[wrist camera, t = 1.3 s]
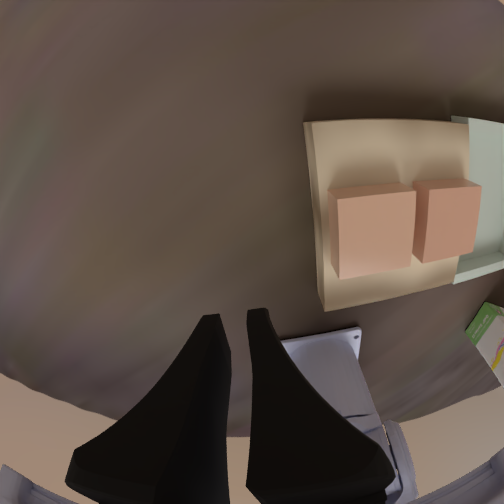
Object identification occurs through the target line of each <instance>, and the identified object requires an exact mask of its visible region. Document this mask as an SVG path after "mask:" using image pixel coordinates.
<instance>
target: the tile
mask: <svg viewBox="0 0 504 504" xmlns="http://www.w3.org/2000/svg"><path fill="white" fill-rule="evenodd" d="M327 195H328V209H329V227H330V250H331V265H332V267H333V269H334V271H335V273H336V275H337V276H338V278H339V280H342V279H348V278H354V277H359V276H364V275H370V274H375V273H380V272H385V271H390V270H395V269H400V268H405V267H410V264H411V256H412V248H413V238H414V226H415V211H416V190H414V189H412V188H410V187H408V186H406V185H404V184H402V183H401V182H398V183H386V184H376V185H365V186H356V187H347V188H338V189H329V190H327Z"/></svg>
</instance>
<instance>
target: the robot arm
mask: <svg viewBox="0 0 504 504" xmlns="http://www.w3.org/2000/svg"><path fill="white" fill-rule="evenodd" d="M247 331H248V339H249V347H250V354H251V362H252V373H253V383H252V417H251V434H250V449H249V460H248V470H247V480H246V487H247V488H248V489H249V491H250V492H251V493H252V494H253V495H254V496H255V497H256V499H257V500H258V501H259V502H260V503H261V504H504V448H503V449H501V450H500V451H499V452H498V453H496V454H495V455H494V456H493V457H491V459H490V460H489V461H487V462H485V463H484V464H482V465H481V466H479V467H478V468H476V469H475V470H473V471H471V472H469V473H468V474H466V475H464V476H463V477H461V478H459V479H457V480H455V481H453V482H452V483H450V484H448V485H446V486H444V487H442V488H440V489H438V490H436V491H434V492H432V493H429V494H427V495H425V496H423V497H421V498H418V499H416V498H417V497H418V491H417V486H416V482H415V478H416V475H415V470H414V466H413V462H412V458H411V455H410V452H409V449H408V446H407V443H406V440H405V438H404V435H403V432H402V430H401V427H400V425H399V424H398V423H397V422H394V421H391V420H390V419H389V420H386V421H384V426H385V429H386V435H387V438H388V441H389V444H390V445H388V442H387V439H386V436H385V433H384V429H383V427H382V424H381V421H380V418H379V415H378V413H377V412H376V410H375V407H374V404H373V401H372V398H371V395H370V392H369V390H368V387H367V384H366V381H365V379H364V376H363V373H362V371H361V368H360V365H359V363H358V355H359V349H360V341H361V334H362V330H361V328H360V327H354V328H349V329H344V330H339V331H334V332H329V333H324V334H318V335H313V336H307V337H301V338H295V339H288V340H282V341H280V339H279V337H278V336H277V334H276V332H275V329H274V327H273V325H272V322H271V320H270V317H269V312H268V309H266V308H259V309H251V310H248V311H247ZM356 335H357V336H356ZM231 376H232V373H231V350H230V347H229V344H228V341H227V337H226V334H225V331H224V328H223V324H222V321H221V318H220V314H212V315H203V316H202V318H201V319H200V321H199V322H198V324H197V326H196V327H195V329H194V331H193V332H192V334H191V336H190V337H189V339H188V340H187V342H186V344H185V345H184V347H183V348H182V350H181V351H180V353H179V354H178V356H177V357H176V358H175V360H174V361H173V363H172V364H171V365H170V367H169V368H168V369H167V371H166V372H165V373H164V375H163V376H162V377H161V378H160V380H159V381H158V382H157V383H156V384H155V386H154V387H153V388H152V389H151V390H150V391H149V392H148V393H147V395H146V396H145V397H144V398H143V399H142V400H141V401H140V402H139V403H138V404H136V405H135V406H134V407H133V408H132V409H131V410H130V411H129V412H128V413H127V414H126V415H125V416H123V417H122V418H121V419H120V420H118V421H117V422H116V423H115V424H113V425H112V426H111V427H109V428H108V429H107V430H105V431H104V432H103V433H101V434H100V435H98V436H97V437H95V438H93V439H92V440H90V441H88V442H87V443H85V444H83V445H82V446H80V447H78V448H76V449H75V450H74V452H73V455H72V458H71V462H70V465H69V468H68V472H67V475H66V479H65V483H66V485H67V486H68V487H70V488H71V489H73V490H74V491H76V492H78V493H80V494H82V495H84V496H86V497H88V498H90V499H92V500H94V501H96V502H98V503H99V504H230V498H229V486H228V471H227V447H226V446H227V445H226V430H227V417H228V407H229V397H230V386H231ZM396 469H397V470H398V475H397V471H396ZM0 504H78V503H75V502H73V501H70V500H68V499H66V498H64V497H61V496H59V495H57V494H55V493H52V492H50V491H48V490H46V489H44V488H42V487H40V486H38V485H36V484H35V483H33V482H32V481H30V480H29V479H27V478H26V477H24V476H23V475H21V474H19V473H18V472H16V471H14V470H13V469H11V468H10V467H8V466H6V465H2V468H1V471H0Z"/></svg>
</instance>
